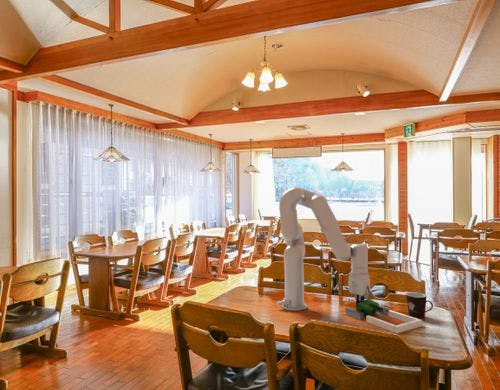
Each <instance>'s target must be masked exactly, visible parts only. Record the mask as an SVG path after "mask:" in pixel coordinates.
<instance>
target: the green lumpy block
mask: <svg viewBox="0 0 500 390" xmlns="http://www.w3.org/2000/svg"><path fill="white" fill-rule="evenodd" d="M379 305H380V303H379V302H376V301H375V300H374V299H373V300H372V299H370V297H369V298H365V300H363V301H362V302H360V303H358V305H357V308H355V310H358V311H360V312H363V315H365V316H371V317H372V315H374V316H375V315H376V314H377V312H376V310H377V308H378V307H379Z"/></svg>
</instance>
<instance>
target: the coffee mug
mask: <svg viewBox="0 0 500 390" xmlns="http://www.w3.org/2000/svg"><path fill="white" fill-rule="evenodd" d="M405 297H406V305H407V310H408V311H407V312H408V316H411V317H414V318H417V319H420V320H423V319H425V314H426V313H428V312H429V311H431V310H432V309H433V308H434V303H433V302H431V300H428V299H427V297H428V296H427V295H426V293H421V292H415V291H414V292H413V291H412V292H406V293H405ZM427 302H428V303H429V304H430V306H431V307H430V308H429V309H426V305H427V304H426V303H427Z"/></svg>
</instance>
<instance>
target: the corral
mask: <svg viewBox="0 0 500 390" xmlns="http://www.w3.org/2000/svg"><path fill="white" fill-rule="evenodd" d="M387 311H388V317H390V318H393V319H396V320H399V321H400V322H401V321H403V323H400V324H397V325H396V324H393V323H390V322H388V321H385V320H382V319H380V318H377V317H374V316H372V315H371V316H366V315H365V316H366V317H365V321H366V323H369V324H371V325H373V326H376V327H379V328H382V329H385V330H387V331H389V332H392V333H395V334H399V333H404V332H407V331H411V330H414V329H417V328H420V327H423V319H417V318H414V317H411V316H409V315H406V314H404V313H401V312H398V311H394V310H391V309H390V310H387Z"/></svg>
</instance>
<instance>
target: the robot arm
mask: <svg viewBox="0 0 500 390" xmlns="http://www.w3.org/2000/svg"><path fill="white" fill-rule="evenodd" d="M298 205H300V206H302V207H305V208H308V209H310V210H311V212H312V213H313V215H314V217H315V218H316V221H317V222H318V225H319V226H320V228H321V230H322V232H323V235H324V237H325V238H326V242H327V243H328V244H329V247H330V249H331V250H332V253H333V254H334V256H335V257H336V259H338V260H339V261H343V262H344V261H348V260H349V259H351V261H350V262H351V263H350V265H351V266H350V269H351V271H349V275H348V285H347V287H348V289H347V290H348V291H349V293H350V294H351V295H353V297H354V300H355V304H356V305H355V309H357V305H358V303H360V302H362V301H364V300H366V299H368V298H369V299H370V294H371V279H370V274H369V272H368V271H369V270H368V268H369V266H368V265H369V263H368V262H369V257H368V256H369V255H368V254H369V251H368V250H369V248H368V246H367V244H365V243H348V242H347V241H346V239H345V237H344V235H343V234H342V231H341V228H340V225H339V221H338V220H337V218H336V216H335V214H334V212H333V210H332V209H331V206H330V205H329V203H328V199H327V198H326V197H325V196H324V195H322V194H319V193H315V192H313V191H311V190H308V189H306V188H305V189H304V188H302V187H297V186H294V187H290V188H289V189H287V190H286V191H284V193H283V194H282V196H281V197H280V200H279V205H278V207H279V208H278V209H279V217H280V225H281V233H282V234H281V235H282V237H283V239H284V240H285V243H286V247H285V249H284V251H283V264H284V265H283V266H284V297H283V298H282V300H280V301H279V300H278V301H276V305H277V307H278V306H279V307H280V306H281V308H282V307H283V308H282V309H284V310H287V311H293V312H298V311H304V310H306V309H308V304H307V303H305V276H304V275H305V273H304V271H305V270H304V269H305V268H304V258H305V255H306V245H305V237H304V230H303V227H302V226H301V224H300V223H299V220H298V211H297V206H298Z"/></svg>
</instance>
